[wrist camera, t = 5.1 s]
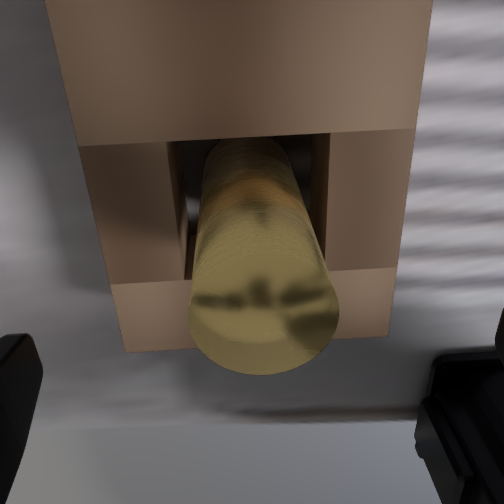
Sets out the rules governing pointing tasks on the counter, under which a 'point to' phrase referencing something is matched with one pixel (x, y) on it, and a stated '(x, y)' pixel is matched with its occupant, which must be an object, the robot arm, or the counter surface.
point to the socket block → (242, 134)
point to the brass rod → (257, 264)
